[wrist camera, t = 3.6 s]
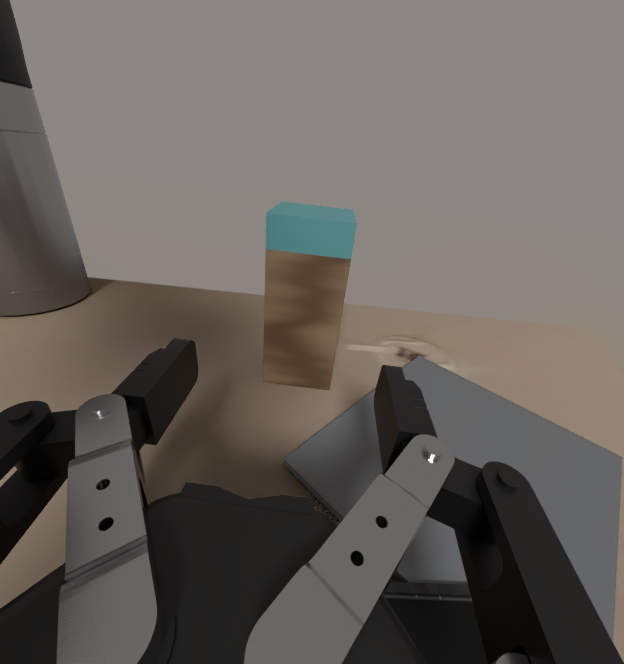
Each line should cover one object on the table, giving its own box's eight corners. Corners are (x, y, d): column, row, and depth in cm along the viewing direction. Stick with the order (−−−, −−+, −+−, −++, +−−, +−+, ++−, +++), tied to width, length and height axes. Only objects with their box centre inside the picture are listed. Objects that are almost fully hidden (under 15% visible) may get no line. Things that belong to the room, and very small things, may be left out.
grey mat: (283, 464, 17) (283, 458, 17) (417, 360, 27) (419, 355, 27) (596, 779, 9) (606, 776, 9) (617, 462, 19) (622, 456, 19)
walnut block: (262, 381, 23) (266, 213, 17) (275, 345, 27) (281, 201, 21) (329, 390, 23) (356, 223, 17) (330, 352, 27) (352, 210, 21)
